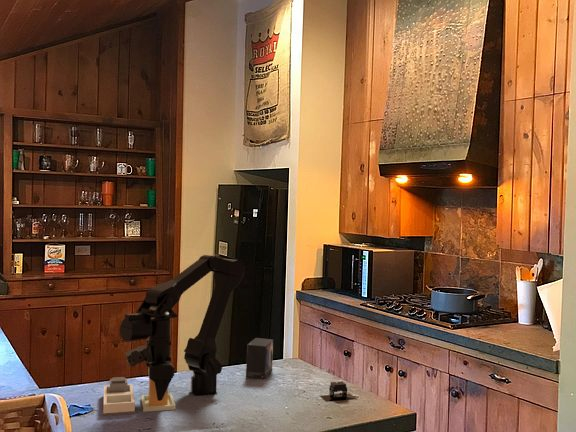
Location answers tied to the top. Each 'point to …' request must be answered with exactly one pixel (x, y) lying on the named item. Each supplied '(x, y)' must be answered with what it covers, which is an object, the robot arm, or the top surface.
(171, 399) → the tray
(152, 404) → the plug
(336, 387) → the dark boxy piece
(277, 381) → the top surface
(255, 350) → the small box
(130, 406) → the cream slotted rack
